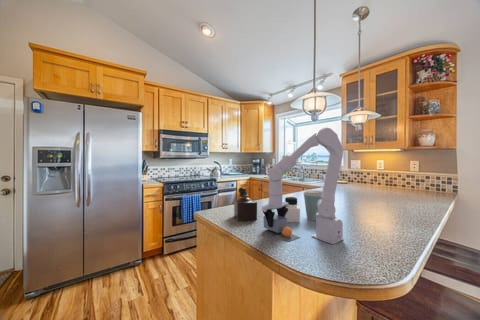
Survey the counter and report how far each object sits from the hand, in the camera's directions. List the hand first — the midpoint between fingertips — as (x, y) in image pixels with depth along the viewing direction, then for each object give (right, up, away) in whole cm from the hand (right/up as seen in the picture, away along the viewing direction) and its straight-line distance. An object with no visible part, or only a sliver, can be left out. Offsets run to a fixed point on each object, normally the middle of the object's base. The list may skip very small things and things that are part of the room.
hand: (275, 225), depth 88 cm
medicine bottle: (+11, -3, +16) cm, 19 cm away
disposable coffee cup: (+23, -3, +19) cm, 30 cm away
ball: (+4, -1, -5) cm, 7 cm away
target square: (+4, -3, -6) cm, 7 cm away
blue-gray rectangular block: (0, -2, 0) cm, 2 cm away
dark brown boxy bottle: (-13, -3, +18) cm, 22 cm away
